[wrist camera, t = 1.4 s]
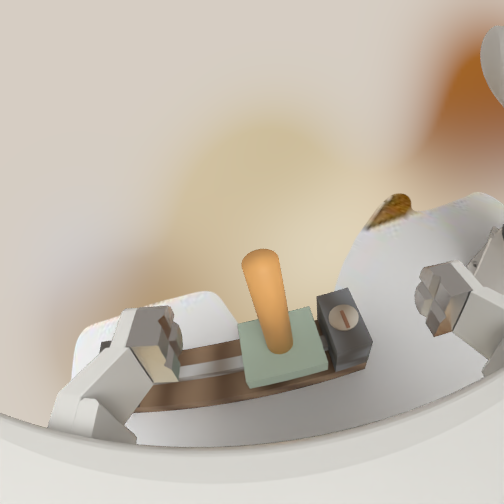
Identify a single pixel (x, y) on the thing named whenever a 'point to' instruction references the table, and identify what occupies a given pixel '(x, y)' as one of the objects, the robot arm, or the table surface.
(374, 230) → the table surface
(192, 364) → the rail
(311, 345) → the slider with orange handle
